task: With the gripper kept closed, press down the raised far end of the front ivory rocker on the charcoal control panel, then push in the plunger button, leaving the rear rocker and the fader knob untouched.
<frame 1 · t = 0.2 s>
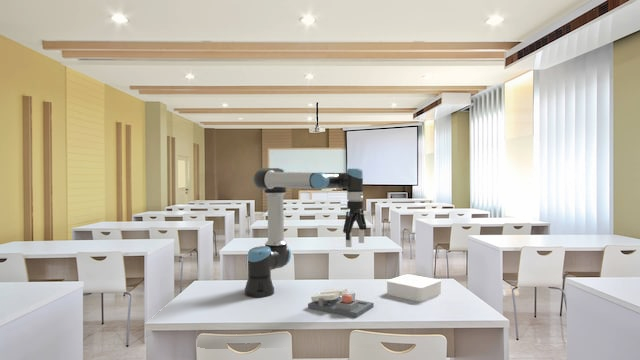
hand: (355, 244, 204), 27 cm above the table, fingers open, 13 cm apart
button: (347, 299, 189), point 6 cm above the table, slide at 0.0 cm
panel: (340, 307, 195), on the table
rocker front: (325, 296, 195), point 5 cm above the table, hinge at -12.0°
fader: (351, 296, 198), point 4 cm above the table, slide at 0.0 cm
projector: (413, 294, 218), on the table
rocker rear: (333, 292, 201), point 5 cm above the table, hinge at -12.0°
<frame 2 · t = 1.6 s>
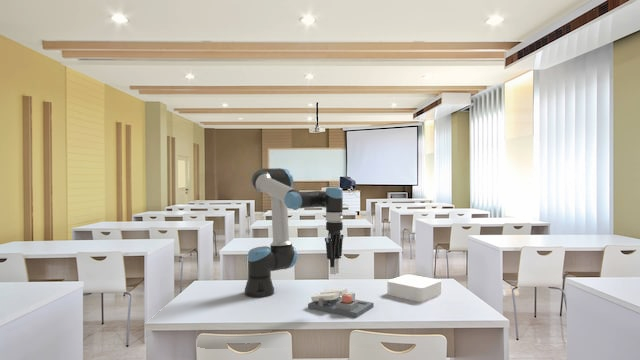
hand: (334, 273, 192), 16 cm above the table, fingers closed
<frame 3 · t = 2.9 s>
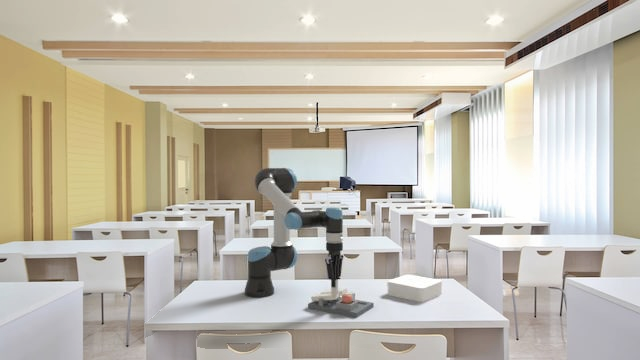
hand: (334, 293, 192), 7 cm above the table, fingers closed
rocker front: (325, 296, 195), point 5 cm above the table, hinge at -11.7°, touching gripper
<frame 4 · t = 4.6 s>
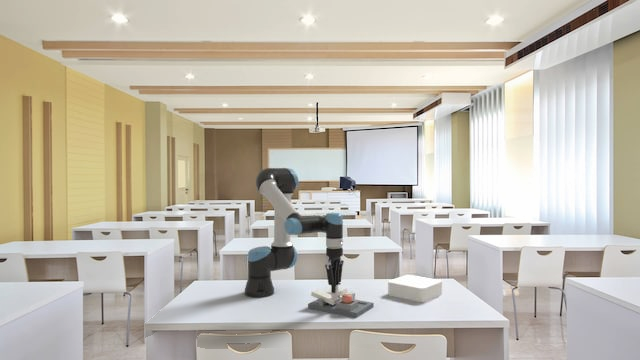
hand: (334, 299, 192), 5 cm above the table, fingers closed
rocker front: (325, 296, 195), point 5 cm above the table, hinge at 12.1°, touching gripper
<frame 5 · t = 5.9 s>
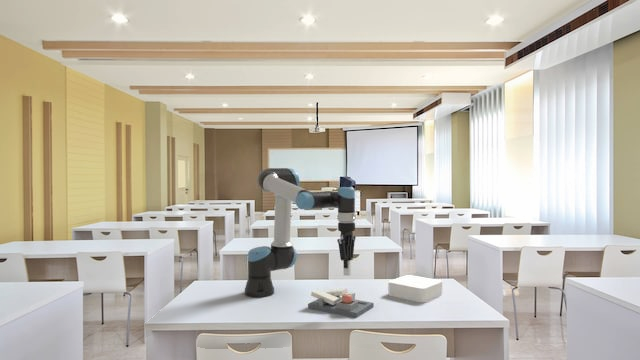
hand: (347, 275, 188), 17 cm above the table, fingers closed
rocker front: (325, 296, 195), point 5 cm above the table, hinge at 12.1°
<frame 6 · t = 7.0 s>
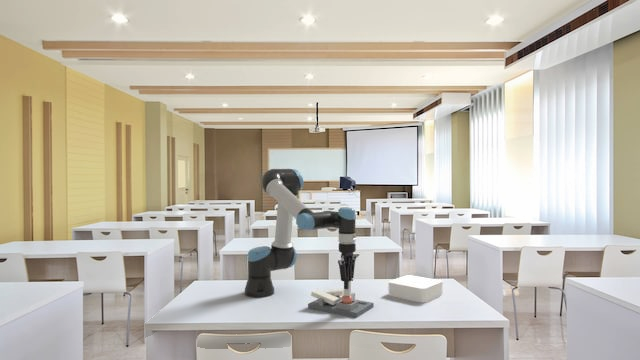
hand: (347, 295, 188), 7 cm above the table, fingers closed
button: (347, 300, 189), point 5 cm above the table, slide at 0.4 cm, touching gripper
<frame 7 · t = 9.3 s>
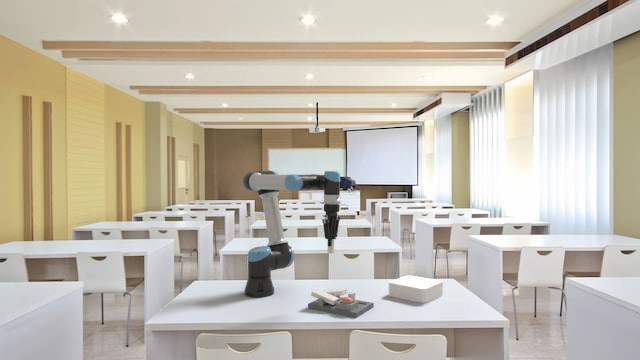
hand: (330, 252, 202), 24 cm above the table, fingers closed
button: (347, 302, 189), point 4 cm above the table, slide at 1.3 cm
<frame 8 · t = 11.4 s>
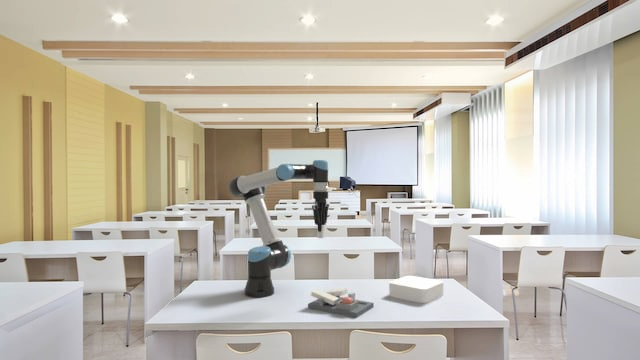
hand: (320, 237, 213), 29 cm above the table, fingers closed
at the end: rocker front at +12° (first picture: -12°); button slide at 1.3 cm; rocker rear at -12° (first picture: -12°) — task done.
